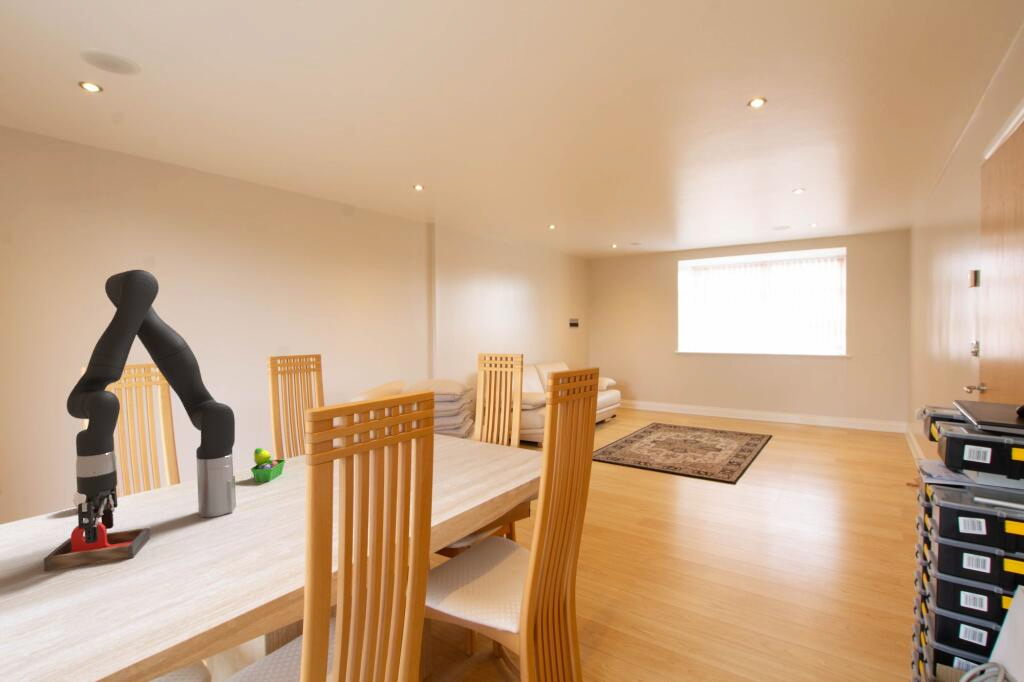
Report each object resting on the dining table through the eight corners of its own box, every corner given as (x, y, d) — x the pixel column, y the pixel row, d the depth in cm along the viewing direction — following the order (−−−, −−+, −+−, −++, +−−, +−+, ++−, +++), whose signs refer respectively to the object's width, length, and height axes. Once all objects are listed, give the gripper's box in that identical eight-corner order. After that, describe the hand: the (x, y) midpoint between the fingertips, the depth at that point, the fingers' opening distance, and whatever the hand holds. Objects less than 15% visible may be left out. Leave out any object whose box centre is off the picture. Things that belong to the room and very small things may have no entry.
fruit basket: (271, 482, 171) (270, 451, 170) (246, 483, 171) (245, 451, 170) (286, 472, 182) (285, 443, 182) (263, 473, 182) (262, 443, 182)
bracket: (63, 562, 114) (61, 530, 113) (74, 553, 118) (72, 522, 118) (123, 554, 117) (122, 522, 117) (132, 546, 122) (130, 515, 121)
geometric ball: (93, 514, 151) (105, 489, 155) (102, 510, 147) (114, 484, 151) (63, 509, 146) (77, 483, 150) (72, 504, 142) (86, 478, 146)
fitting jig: (149, 538, 127) (149, 527, 127) (133, 557, 117) (132, 545, 116) (69, 550, 121) (69, 538, 121) (44, 571, 111) (43, 558, 111)
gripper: (102, 477, 113) (105, 545, 113) (127, 461, 126) (130, 521, 127) (62, 481, 110) (65, 550, 111) (91, 464, 123) (95, 526, 124)
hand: (100, 535), depth 119 cm, fingers open, 8 cm apart
